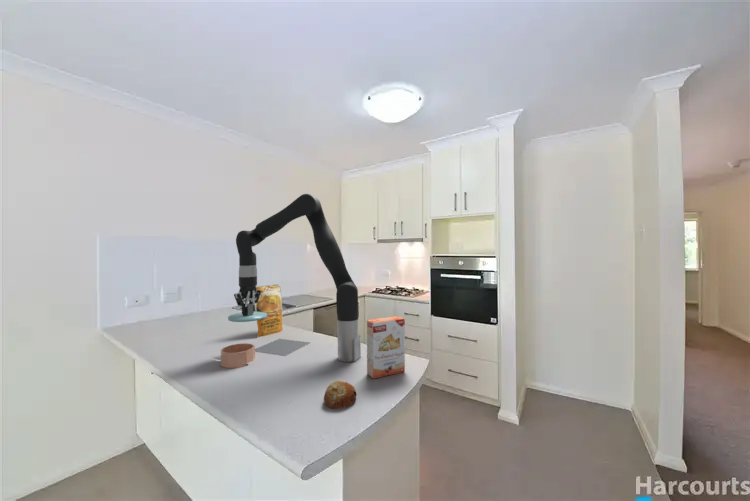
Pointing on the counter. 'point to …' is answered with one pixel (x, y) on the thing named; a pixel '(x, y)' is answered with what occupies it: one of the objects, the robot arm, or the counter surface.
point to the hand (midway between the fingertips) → (248, 314)
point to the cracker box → (385, 346)
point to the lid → (249, 317)
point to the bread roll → (339, 395)
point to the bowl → (237, 355)
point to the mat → (281, 347)
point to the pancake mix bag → (269, 310)
